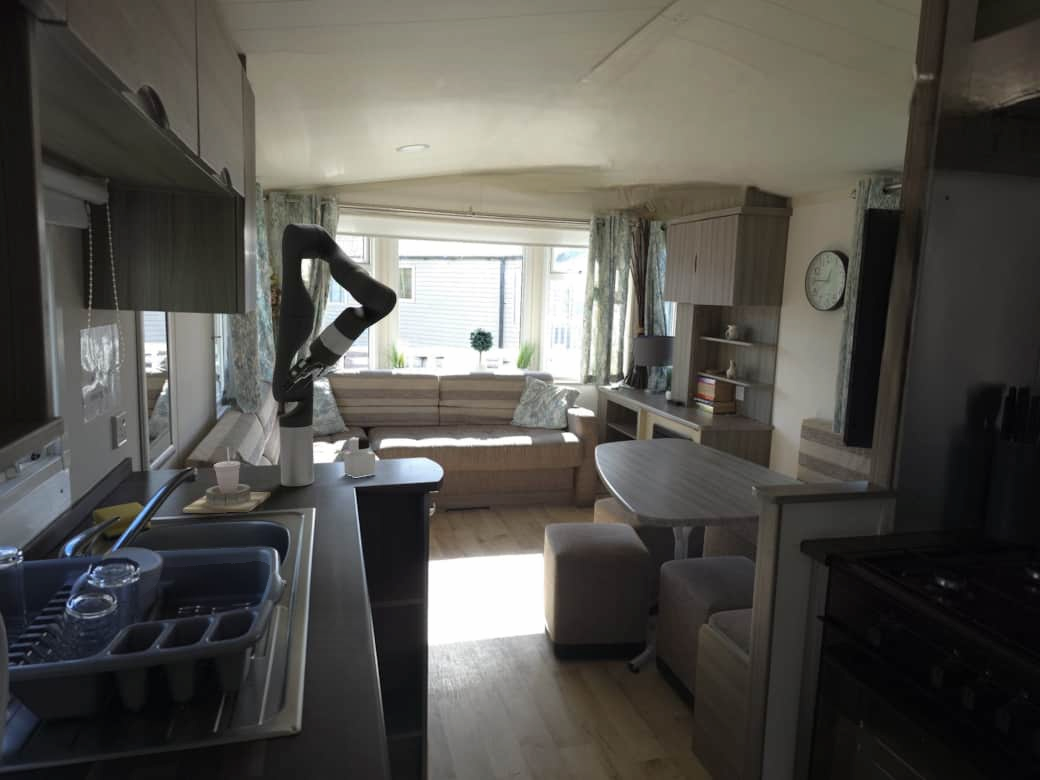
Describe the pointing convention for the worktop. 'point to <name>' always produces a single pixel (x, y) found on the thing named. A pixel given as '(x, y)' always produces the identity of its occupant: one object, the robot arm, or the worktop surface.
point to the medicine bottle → (359, 457)
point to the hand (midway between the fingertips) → (291, 388)
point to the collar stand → (227, 501)
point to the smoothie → (227, 475)
